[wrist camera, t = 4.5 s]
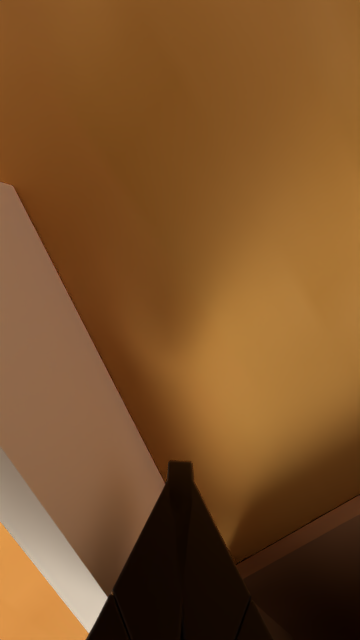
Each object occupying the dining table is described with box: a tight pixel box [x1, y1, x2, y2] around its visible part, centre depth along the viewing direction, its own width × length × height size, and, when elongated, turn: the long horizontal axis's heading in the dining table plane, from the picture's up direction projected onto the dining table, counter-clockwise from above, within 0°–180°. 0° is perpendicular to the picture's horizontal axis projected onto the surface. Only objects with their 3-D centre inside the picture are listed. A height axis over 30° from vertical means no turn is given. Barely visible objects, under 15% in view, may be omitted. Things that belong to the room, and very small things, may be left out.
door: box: [0, 182, 165, 633], centre depth 8 cm, size 17×2×5 cm, turn 21°
